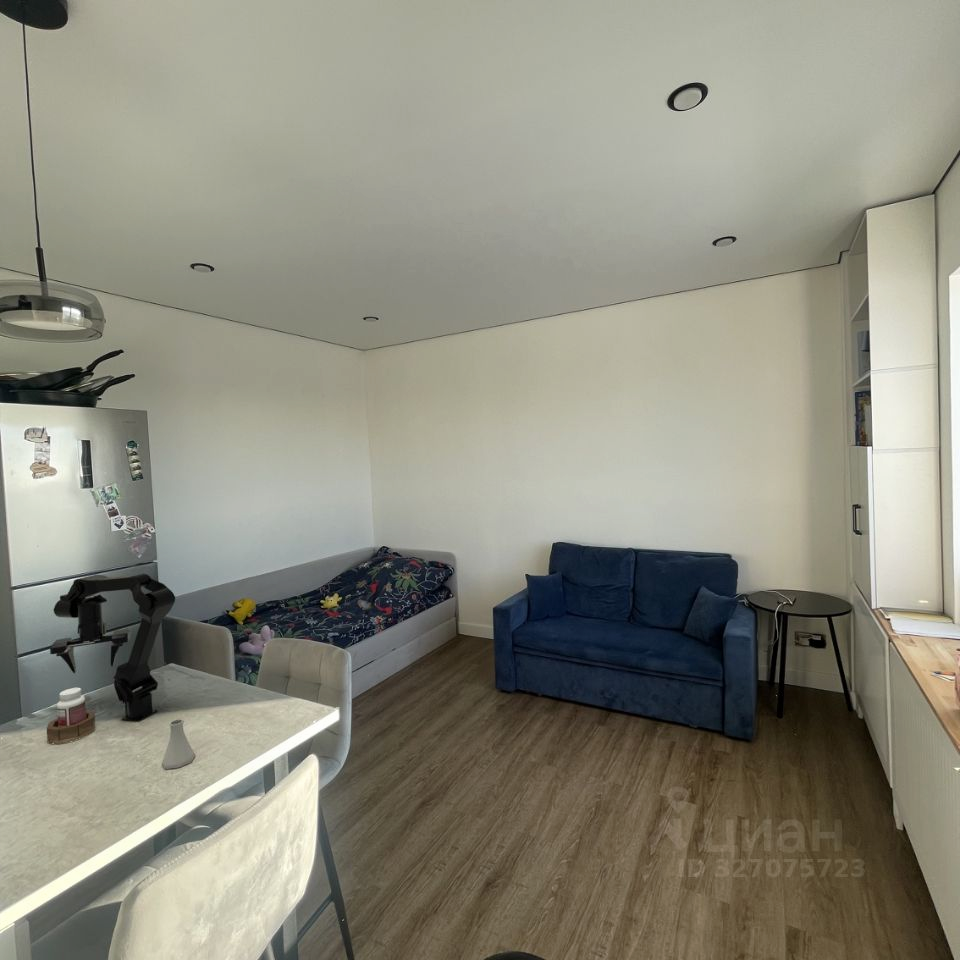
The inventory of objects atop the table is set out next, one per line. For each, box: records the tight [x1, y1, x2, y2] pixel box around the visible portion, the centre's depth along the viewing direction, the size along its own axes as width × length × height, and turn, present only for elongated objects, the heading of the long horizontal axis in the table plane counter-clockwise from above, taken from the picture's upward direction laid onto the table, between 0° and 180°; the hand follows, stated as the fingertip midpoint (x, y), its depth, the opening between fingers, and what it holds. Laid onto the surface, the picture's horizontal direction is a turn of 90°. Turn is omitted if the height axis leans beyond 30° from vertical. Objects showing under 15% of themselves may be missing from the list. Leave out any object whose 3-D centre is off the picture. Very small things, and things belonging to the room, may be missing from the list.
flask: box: [161, 718, 196, 770], centre depth 126 cm, size 7×7×10 cm
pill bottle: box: [56, 687, 87, 727], centre depth 142 cm, size 6×6×11 cm
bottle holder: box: [46, 710, 97, 745], centre depth 142 cm, size 10×10×4 cm
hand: (93, 669), depth 155 cm, fingers open, 9 cm apart
